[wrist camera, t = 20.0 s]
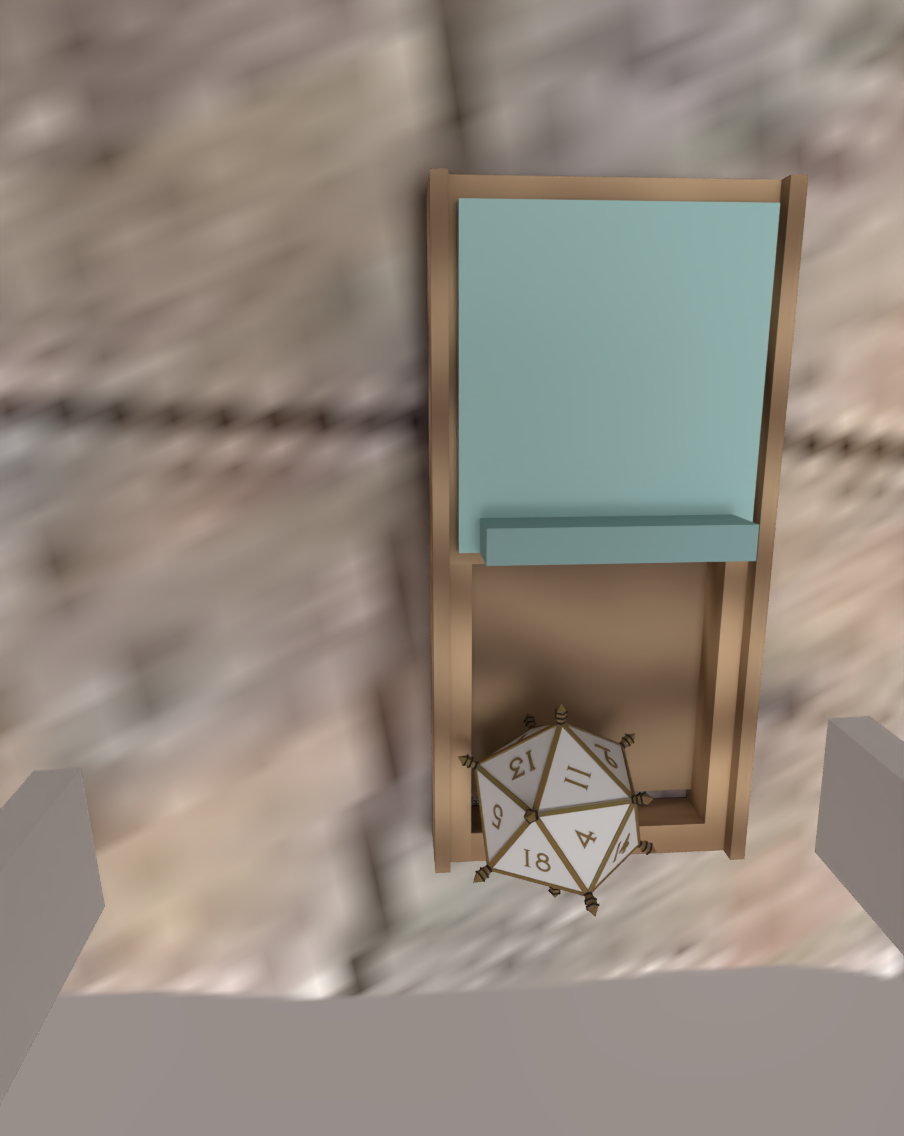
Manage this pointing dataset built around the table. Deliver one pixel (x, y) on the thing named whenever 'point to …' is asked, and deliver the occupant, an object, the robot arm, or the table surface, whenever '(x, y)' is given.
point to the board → (602, 585)
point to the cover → (611, 378)
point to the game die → (558, 807)
